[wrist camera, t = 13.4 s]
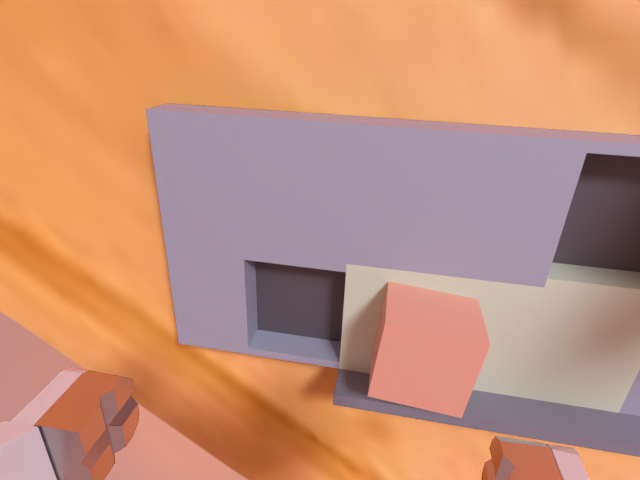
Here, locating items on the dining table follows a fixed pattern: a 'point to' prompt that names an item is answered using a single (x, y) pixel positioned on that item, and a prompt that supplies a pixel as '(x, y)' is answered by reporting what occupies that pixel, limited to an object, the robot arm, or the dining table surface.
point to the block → (427, 349)
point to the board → (413, 253)
